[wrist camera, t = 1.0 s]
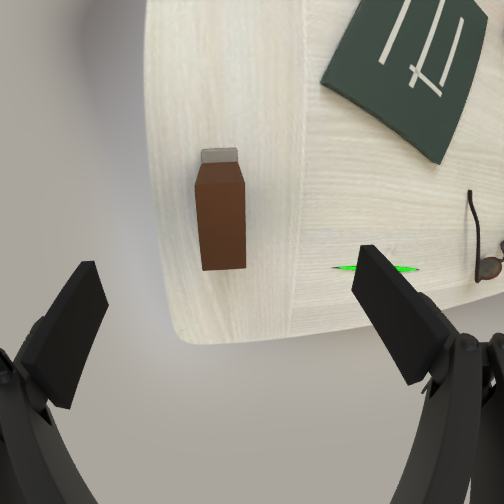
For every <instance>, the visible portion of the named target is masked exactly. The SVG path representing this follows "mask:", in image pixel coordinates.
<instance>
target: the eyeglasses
mask: <svg viewBox="0 0 504 504" xmlns="http://www.w3.org/2000/svg"><path fill="white" fill-rule="evenodd" d="M468 199H469V205H470V208H471V211H472V214H473V216H474V219H475V223H476V232H477V249H476V267H475V282H476V283H479V282H480V281H481V280H490V279H493V278H495V277H497V276H498V275H499V274H500V272H501V270H502V264H501V262H503V261H504V257H503V259H498V258H496V257H487V258H484V259H482V260H481V261H480V226H479V221H478V217H477V214H476V212H475V209H474V206H473V202H472V190H469V191H468ZM501 250H502V252H503V254H504V241H503V242H502V243H501Z"/></svg>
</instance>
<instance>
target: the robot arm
mask: <svg viewBox="0 0 504 504" xmlns="http://www.w3.org/2000/svg"><path fill="white" fill-rule="evenodd" d="M351 291H352V292H353V294H354V295H355V297H356V299H357V300H358V302H359V303H360V305H361V306H362V308H363V310H364V311H365V313H366V314H367V316H368V318H369V319H370V321H371V323H372V324H373V326H374V327H375V329H376V331H377V332H378V334H379V336H380V337H381V339H382V341H383V343H384V344H385V346H386V348H387V349H388V351H389V353H390V354H391V356H392V358H393V360H394V361H395V363H396V365H397V367H398V369H399V370H400V372H401V374H402V376H403V378H404V379H405V381H406V383H407V385H408V386H409V385H412V384H414V383H417V382H420V381H422V380H423V379H424V377H425V376H426V374H427V372H428V371H429V373H430V375H431V376H432V377H431V378H430V380H429V381H428V383H427V384H426V386H425V387H424V389H423V390H422V392H421V394H423V393H424V392H425V391H426V389H427V393H426V397H425V402H424V406H423V410H422V414H421V418H420V422H419V426H418V429H417V433H416V436H415V439H414V443H413V446H412V449H411V452H410V455H409V458H408V460H407V463H406V466H405V469H404V471H403V474H402V477H401V479H400V481H399V484H398V486H397V489H396V491H395V493H394V496H393V498H392V500H391V502H390V504H464V500H465V497H466V493H467V490H468V486H469V482H470V478H471V491H470V503H469V504H504V334H502V333H495V334H494V335H493V337H492V338H491V340H490V341H489V342H478V340H477V339H476V338H475V337H474V336H472V335H470V334H467V333H462V334H460V333H459V332H458V331H457V330H456V328H455V327H454V326H453V325H452V323H451V322H450V321H449V320H448V319H447V317H446V316H445V315H444V314H443V313H441V310H440V309H439V308H438V307H436V304H435V303H434V302H433V301H432V300H431V299H430V298H429V297H428V296H426V295H425V294H423V293H422V292H417V291H416V290H415V289H414V288H413V287H412V285H411V284H410V283H409V282H408V281H407V280H406V279H405V278H404V277H403V275H402V274H401V273H400V272H399V271H398V270H397V269H396V268H395V267H394V266H393V265H392V264H391V262H390V261H389V260H388V259H387V258H386V257H385V256H384V255H383V254H382V253H381V252H380V251H379V250H378V249H377V248H376V247H375V246H374V245H361V246H360V251H359V256H358V261H357V266H356V271H355V276H354V281H353V285H352V289H351ZM108 306H109V304H108V302H107V299H106V296H105V293H104V290H103V287H102V284H101V281H100V278H99V275H98V272H97V269H96V265H95V262H94V261H82V262H81V263H80V265H79V266H78V267H77V269H76V270H75V271H74V273H73V274H72V276H71V277H70V278H69V280H68V281H67V283H66V284H65V286H64V287H63V289H62V290H61V292H60V293H59V295H58V296H57V298H56V299H55V301H54V302H53V304H52V305H51V307H50V309H49V310H48V312H47V313H46V315H45V316H42V317H41V318H40V319H39V320H38V321H37V322H36V323H35V324H34V325H33V327H32V329H31V330H30V334H28V335H27V337H26V341H24V342H23V344H22V346H21V348H20V350H19V352H18V353H17V355H16V357H15V359H14V361H13V362H12V361H11V360H10V358H9V357H8V355H7V354H6V353H5V351H4V350H3V349H1V348H0V504H98V503H97V501H96V500H95V498H94V497H93V495H92V493H91V492H90V490H89V489H88V487H87V485H86V484H85V482H84V480H83V479H82V477H81V476H80V473H79V472H78V470H77V468H76V466H75V464H74V463H73V460H72V458H71V457H70V455H69V452H68V451H67V448H66V446H65V444H64V442H63V440H62V438H61V436H60V433H59V431H58V429H57V426H56V424H55V421H54V419H53V416H52V414H51V411H50V409H49V408H48V406H47V405H46V403H47V400H48V399H49V400H50V401H51V402H52V403H53V404H54V405H55V406H56V407H60V408H65V409H70V408H71V404H72V401H73V398H74V395H75V392H76V388H77V385H78V383H79V380H80V377H81V374H82V371H83V368H84V365H85V362H86V360H87V357H88V355H89V352H90V349H91V347H92V344H93V342H94V339H95V337H96V334H97V332H98V329H99V327H100V325H101V322H102V319H103V317H104V315H105V313H106V310H107V308H108ZM494 378H495V380H496V384H495V385H494V386H493V387H492V385H491V381H492V380H493V379H494Z"/></svg>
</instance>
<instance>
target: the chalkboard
mask: <svg viewBox="0 0 504 504" xmlns="http://www.w3.org/2000/svg"><path fill="white" fill-rule="evenodd" d="M487 20H488V17H487V16H486V14H485V13H484V12H483V11H482V9H481V8H480V7H479V6H478V5H477V4H476V3H475V1H474V0H361V2H360V4H359V6H358V8H357V10H356V12H355V14H354V16H353V18H352V20H351V22H350V24H349V26H348V28H347V30H346V32H345V34H344V36H343V38H342V40H341V42H340V44H339V46H338V48H337V50H336V52H335V54H334V56H333V58H332V60H331V62H330V64H329V66H328V68H327V70H326V72H325V74H324V76H323V78H322V80H321V84H323V85H325V86H327V87H329V88H330V89H332V90H334V91H335V92H337V93H339V94H341V95H342V96H344V97H346V98H347V99H349V100H350V101H352V102H354V103H355V104H357V105H358V106H360V107H361V108H363V109H364V110H366V111H367V112H369V113H370V114H372V115H373V116H375V117H376V118H378V119H379V120H380V121H382V122H383V123H385V124H386V125H387V126H389V127H390V128H392V129H393V130H394V131H396V132H397V133H398V134H399V135H401V136H402V137H403V138H405V139H406V140H407V141H408V142H410V143H411V144H412V145H413V146H415V147H416V148H417V149H418V150H419V151H421V152H422V153H423V154H424V155H425V156H427V157H428V158H429V159H430V160H431V161H432V162H433V163H436V164H438V165H440V164H441V162H442V159H443V157H444V155H445V153H446V150H447V148H448V146H449V144H450V141H451V139H452V136H453V134H454V132H455V129H456V127H457V124H458V122H459V119H460V116H461V114H462V111H463V108H464V105H465V103H466V100H467V97H468V94H469V91H470V88H471V85H472V81H473V78H474V75H475V71H476V68H477V64H478V61H479V57H480V53H481V49H482V45H483V40H484V36H485V31H486V26H487Z"/></svg>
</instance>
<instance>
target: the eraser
mask: <svg viewBox="0 0 504 504" xmlns="http://www.w3.org/2000/svg"><path fill="white" fill-rule="evenodd" d="M201 162H202V164H201V167H200V170H199V173H198V176H197V180H196V183H195V199H196V211H197V222H198V233H199V243H200V253H201V262H202V270H203V271H208V270H226V269H242V268H246V223H245V182H244V179H243V176H242V173H241V170H240V167H239V165H238V155H237V149H236V148H216V149H203V150H202V151H201Z"/></svg>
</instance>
